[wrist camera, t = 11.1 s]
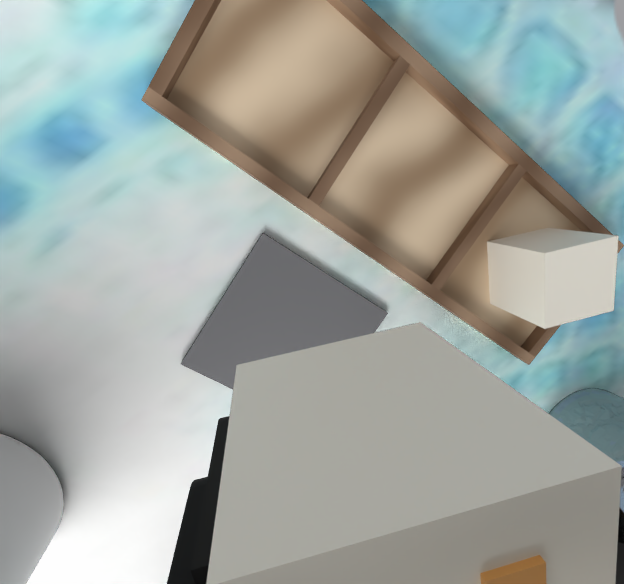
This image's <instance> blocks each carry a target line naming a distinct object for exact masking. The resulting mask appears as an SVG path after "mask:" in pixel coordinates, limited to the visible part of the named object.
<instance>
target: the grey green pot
mask: <svg viewBox="0 0 624 584" xmlns="http://www.w3.org/2000/svg"><path fill="white" fill-rule="evenodd" d="M549 414H550V415H551V416H552V417H554V418H555V419H557V420H558V421H559V422H561V423H562V424H564V425H565V426H566V427H568V428H569V429H571V430H572V431H573V432H575V433H576V434H578V435H579V436H580V437H582V438H583V439H585V440H586V441H587V442H589V443H590V444H592V445H593V446H594V447H596V448H597V449H599V450H600V451H601V452H603V453H604V454H606V455H607V456H608V457H610V458H611V459H613V460H614V461H615V462H618V461H624V399H623V398H621V397H619V396H617V395H615V394H613V393H611V392H608V391H606V390H601V389H596V388H590V389H584V390H580V391H577V392H575V393H573V394H571V395H569V396H567V397H566V398H564V399H563V400H562V401H560V402H559V403H558V404H557V405H556V406H555V407H554V408H553V409H552V411H551V412H550V413H549Z"/></svg>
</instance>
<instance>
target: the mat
mask: <svg viewBox="0 0 624 584" xmlns="http://www.w3.org/2000/svg"><path fill="white" fill-rule="evenodd" d="M387 314H388V313H387V312H386V311H385V310H383V309H382V308H380V307H378V306H377V305H375V304H374V303H372V302H371V301H369V300H367V299H366V298H364V297H363V296H361V295H360V294H358V293H356V292H355V291H353V290H352V289H350V288H349V287H347V286H346V285H344V284H342V283H341V282H339V281H338V280H336V279H335V278H333V277H331V276H330V275H328V274H327V273H325V272H324V271H322V270H320V269H319V268H317V267H316V266H314V265H313V264H311V263H310V262H308V261H306V260H305V259H303V258H302V257H300V256H299V255H297V254H295V253H294V252H292V251H291V250H289V249H288V248H286V247H284V246H283V245H281V244H280V243H278V242H277V241H275V240H274V239H272V238H270V237H269V236H267V235H266V234H264V233H262V235H261V236H260V238H259V240H258V241H257V243H256V244H255V246H254V248H253V249H252V251H251V252H250V254H249V256H248V257H247V259H246V260H245V262H244V264H243V265H242V267H241V268H240V270H239V272H238V273H237V275H236V276H235V278H234V280H233V281H232V283H231V284H230V286H229V287H228V289H227V291H226V292H225V294H224V295H223V297H222V299H221V300H220V302H219V303H218V305H217V307H216V308H215V310H214V311H213V313H212V315H211V316H210V318H209V319H208V321H207V323H206V324H205V326H204V327H203V329H202V330H201V332H200V334H199V335H198V337H197V338H196V340H195V342H194V343H193V345H192V346H191V348H190V350H189V351H188V353H187V354H186V356H185V358H184V359H183V361H182V363H181V364H182V365H184V366H186V367H188V368H190V369H192V370H194V371H196V372H198V373H200V374H202V375H204V376H206V377H208V378H211V379H213V380H215V381H217V382H219V383H221V384H223V385H225V386H227V387H229V388H231V389H233V388H234V380H235V373H236V366H237V365H239V364H243V363H248V362H252V361H256V360H260V359H265V358H269V357H273V356H278V355H282V354H286V353H291V352H295V351H299V350H303V349H308V348H312V347H316V346H321V345H325V344H329V343H334V342H338V341H342V340H346V339H351V338H355V337H359V336H364V335H368V334H372V333H374V332H375V331H376V329H377V328H378V326H379V325H380V324H381V322H382V321H383V319H384V318H385V317H386V315H387Z"/></svg>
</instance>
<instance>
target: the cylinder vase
mask: <svg viewBox="0 0 624 584" xmlns="http://www.w3.org/2000/svg"><path fill="white" fill-rule="evenodd" d="M63 508H64V498H63V491H62V487H61V484H60V482H59V479H58V477H57V475H56V474H55V472H54V470H53V469H52V468H51V466H50V465H49V464H48V463H47V461H46V460H45V459H44V458H43V457H42V456H40V455H39V454H38V453H37V452H36V451H34V450H33V449H32V448H30V447H29V446H27V445H25V444H23V443H22V442H20V441H18V440H16V439H13V438H11V437H9V436H6V435H3V434H0V584H26V583H27V581H28V579H29V578H30V576H31V574H32V572H33V571H34V569H35V567H36V566H37V564H38V562H39V560H40V559H41V557H42V555H43V554H44V552H45V550H46V548H47V547H48V545H49V543H50V542H51V540H52V538H53V536H54V535H55V533H56V531H57V529H58V527H59V525H60V522H61V519H62V514H63Z"/></svg>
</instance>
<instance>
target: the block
mask: <svg viewBox="0 0 624 584" xmlns="http://www.w3.org/2000/svg"><path fill="white" fill-rule="evenodd" d="M617 250H618V236H617V235H608V234H600V233H591V232H582V231H573V230H564V229H556V228H543V229H539V230H535V231H530V232H526V233H522V234H518V235H513V236H509V237H505V238H500V239H496V240H492V241H487V252H488V273H489V294H490V304H492V305H494V306H496V307H498V308H501V309H503V310H505V311H507V312H509V313H511V314H514V315H516V316H518V317H520V318H522V319H524V320H527V321H529V322H531V323H533V324H535V325H537V326H540V327H542V328H544V329H546V328H550V327H554V326H558V325H561V324H565V323H569V322H573V321H577V320H580V319H584V318H588V317H592V316H596V315H599V314H603V313H607V312H611V311H614V298H615V282H616V266H617Z"/></svg>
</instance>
